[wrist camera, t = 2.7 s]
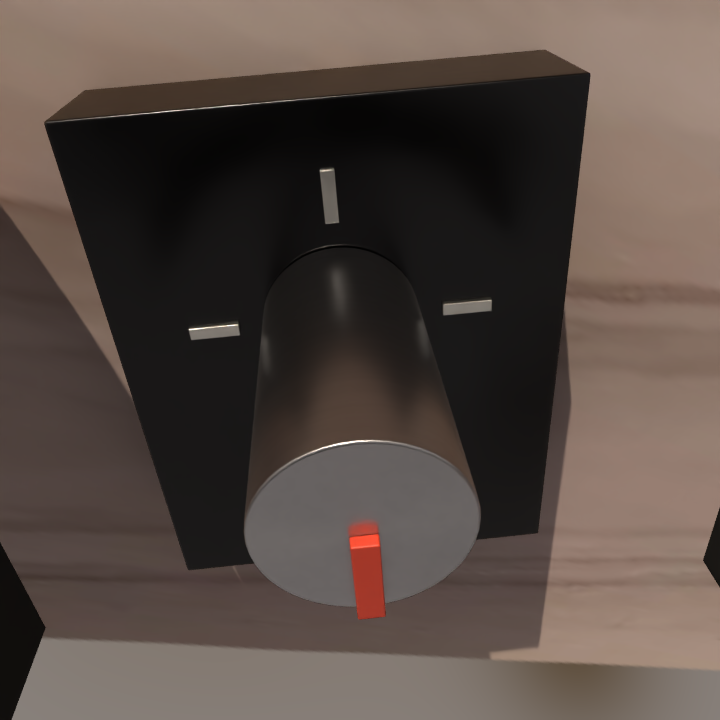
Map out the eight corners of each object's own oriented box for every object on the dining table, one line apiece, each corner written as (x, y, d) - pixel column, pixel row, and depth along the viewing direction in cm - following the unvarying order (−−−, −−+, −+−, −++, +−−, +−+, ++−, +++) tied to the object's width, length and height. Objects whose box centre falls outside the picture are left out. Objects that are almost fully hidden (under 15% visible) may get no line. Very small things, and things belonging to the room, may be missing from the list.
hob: (82, 89, 18) (39, 123, 15) (546, 49, 19) (594, 73, 16) (199, 501, 27) (186, 574, 24) (513, 469, 28) (539, 537, 25)
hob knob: (251, 254, 18) (221, 468, 11) (416, 239, 18) (490, 440, 11) (274, 388, 20) (262, 632, 13) (419, 373, 20) (481, 608, 13)
